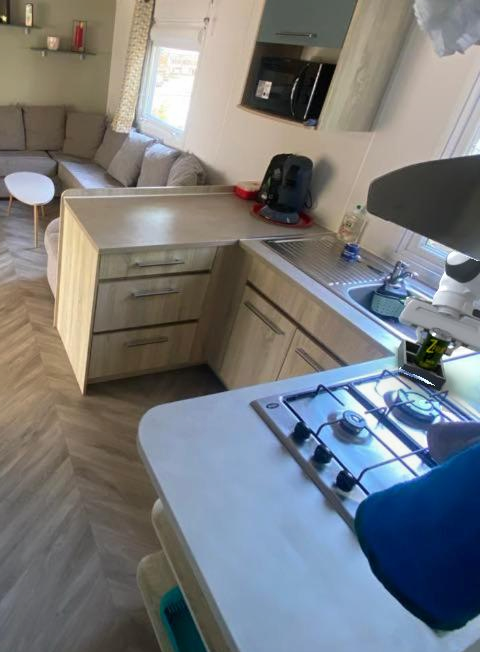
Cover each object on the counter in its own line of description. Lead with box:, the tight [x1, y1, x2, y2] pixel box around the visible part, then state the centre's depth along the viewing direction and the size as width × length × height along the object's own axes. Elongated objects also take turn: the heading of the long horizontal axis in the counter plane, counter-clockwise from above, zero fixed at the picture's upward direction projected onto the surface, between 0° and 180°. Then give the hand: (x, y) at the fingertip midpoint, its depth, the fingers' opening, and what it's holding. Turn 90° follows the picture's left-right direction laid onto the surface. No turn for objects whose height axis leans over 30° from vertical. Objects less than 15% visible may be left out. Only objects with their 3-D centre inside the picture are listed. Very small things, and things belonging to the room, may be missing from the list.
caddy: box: [397, 338, 447, 392], centre depth 125 cm, size 10×17×4 cm, turn 145°
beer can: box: [413, 327, 453, 372], centre depth 119 cm, size 5×5×12 cm
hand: (433, 349), depth 118 cm, fingers closed on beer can, 5 cm apart
